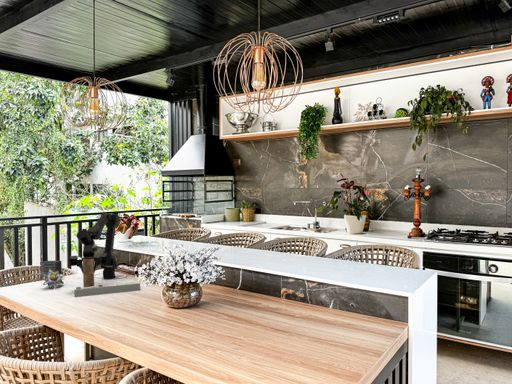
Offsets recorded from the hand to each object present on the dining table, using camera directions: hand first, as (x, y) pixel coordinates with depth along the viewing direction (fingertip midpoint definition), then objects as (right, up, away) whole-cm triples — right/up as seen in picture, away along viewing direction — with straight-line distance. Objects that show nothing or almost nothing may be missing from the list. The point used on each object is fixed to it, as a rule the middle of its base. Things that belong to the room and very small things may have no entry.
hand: (88, 272), depth 207 cm
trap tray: (+9, -10, +4) cm, 14 cm away
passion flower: (-26, -11, +14) cm, 32 cm away
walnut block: (0, -7, +1) cm, 7 cm away
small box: (-40, -11, +39) cm, 56 cm away
